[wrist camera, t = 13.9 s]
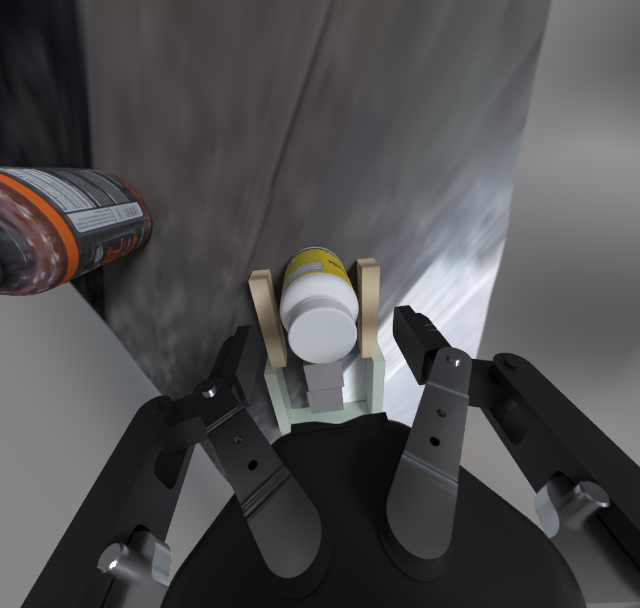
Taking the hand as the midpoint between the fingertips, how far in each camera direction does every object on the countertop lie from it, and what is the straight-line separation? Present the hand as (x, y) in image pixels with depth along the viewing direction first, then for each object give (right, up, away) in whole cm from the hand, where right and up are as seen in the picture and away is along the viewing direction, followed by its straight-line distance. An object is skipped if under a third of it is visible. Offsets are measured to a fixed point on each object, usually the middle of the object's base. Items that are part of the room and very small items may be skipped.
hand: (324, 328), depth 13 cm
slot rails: (0, +1, +10) cm, 10 cm away
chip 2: (0, -9, +16) cm, 18 cm away
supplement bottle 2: (-1, +4, +9) cm, 10 cm away
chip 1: (0, -5, +14) cm, 15 cm away
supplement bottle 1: (-16, +9, +5) cm, 19 cm away
